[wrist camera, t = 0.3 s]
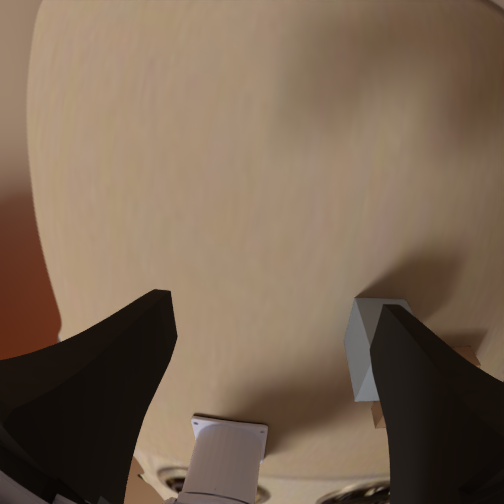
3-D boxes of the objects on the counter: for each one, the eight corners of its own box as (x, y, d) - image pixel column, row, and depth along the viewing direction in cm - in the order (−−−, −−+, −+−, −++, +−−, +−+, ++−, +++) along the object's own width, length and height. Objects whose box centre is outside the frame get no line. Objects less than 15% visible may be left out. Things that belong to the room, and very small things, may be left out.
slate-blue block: (390, 341, 21) (410, 398, 16) (343, 340, 21) (354, 401, 16) (405, 299, 19) (434, 354, 14) (354, 297, 20) (373, 356, 14)
